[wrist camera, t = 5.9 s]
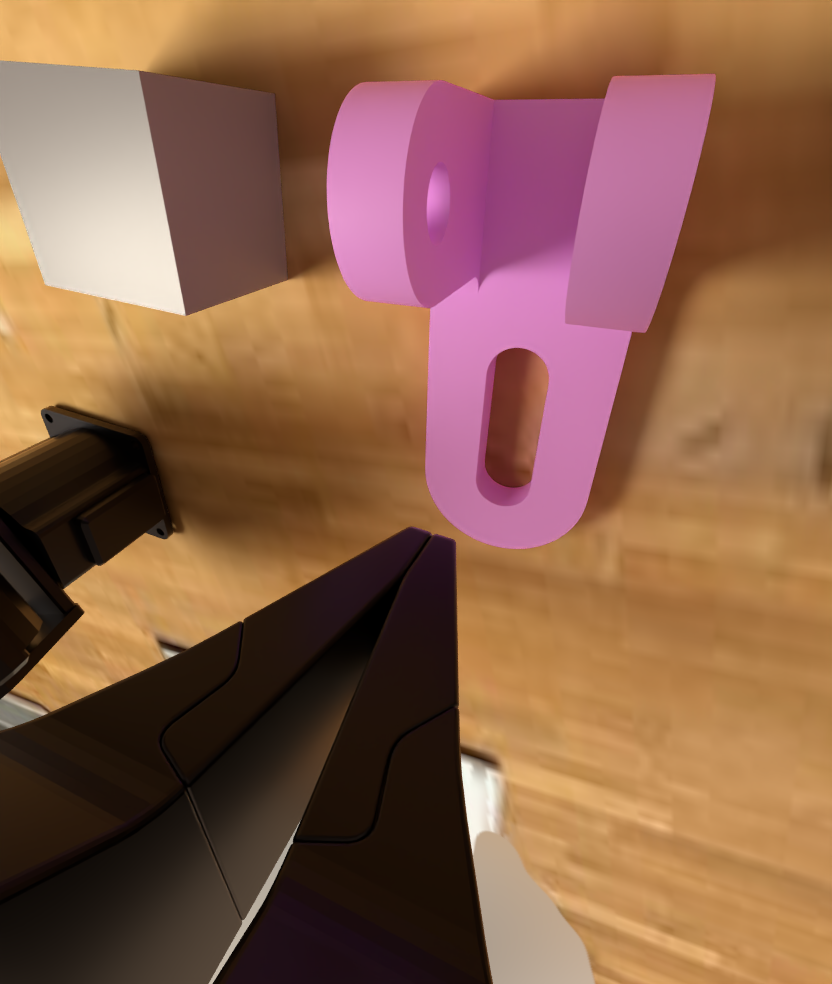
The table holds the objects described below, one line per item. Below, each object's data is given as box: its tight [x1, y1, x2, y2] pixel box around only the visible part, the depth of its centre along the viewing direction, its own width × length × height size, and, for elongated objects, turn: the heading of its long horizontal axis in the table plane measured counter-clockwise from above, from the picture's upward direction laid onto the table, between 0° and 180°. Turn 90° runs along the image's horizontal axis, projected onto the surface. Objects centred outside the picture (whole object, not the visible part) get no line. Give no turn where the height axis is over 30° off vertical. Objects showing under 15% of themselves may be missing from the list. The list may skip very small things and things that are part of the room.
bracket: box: [327, 74, 716, 549], centre depth 13 cm, size 13×6×7 cm, turn 179°
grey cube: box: [0, 61, 288, 316], centre depth 14 cm, size 5×5×5 cm
